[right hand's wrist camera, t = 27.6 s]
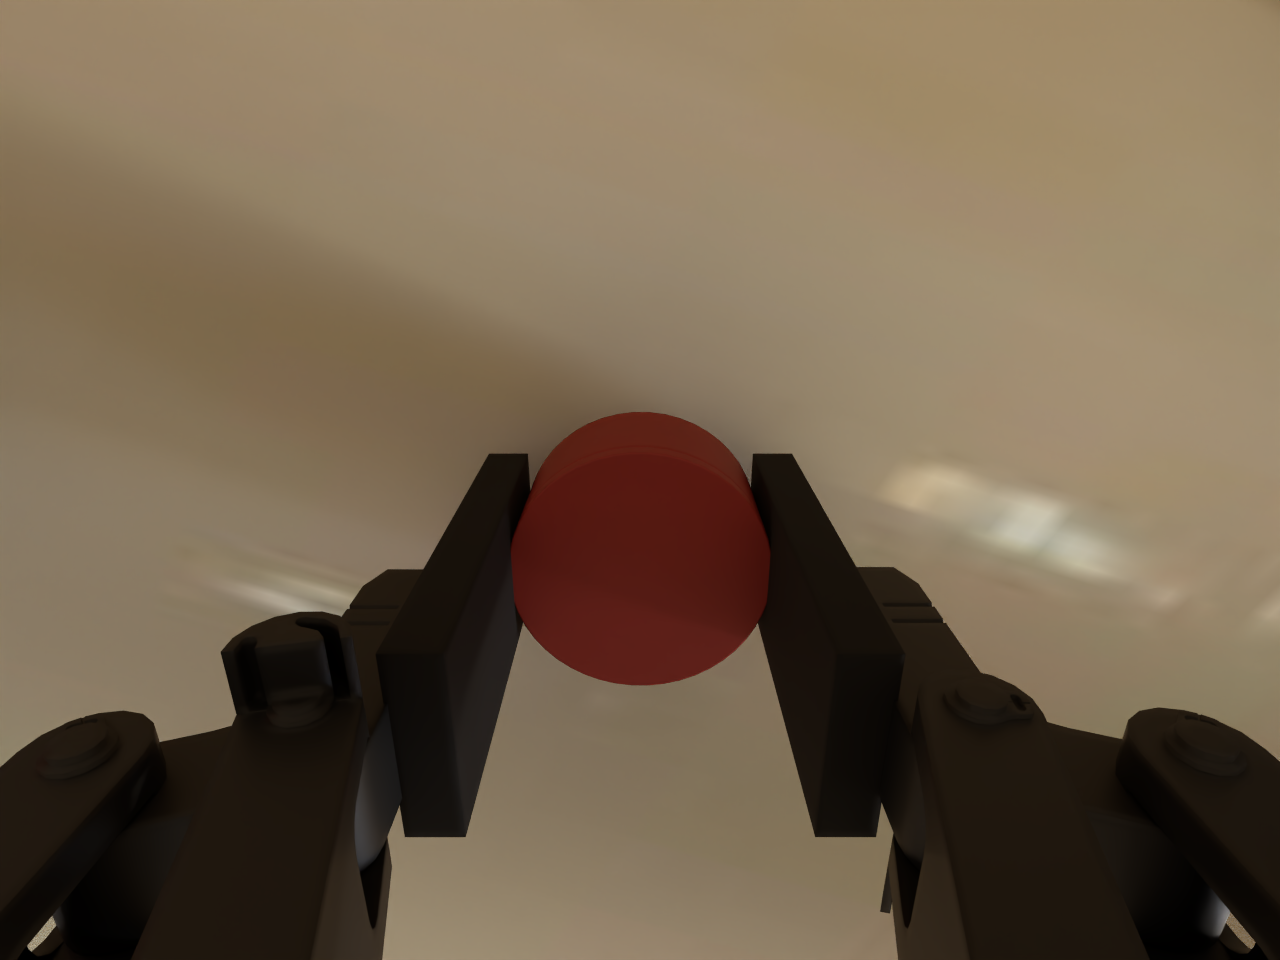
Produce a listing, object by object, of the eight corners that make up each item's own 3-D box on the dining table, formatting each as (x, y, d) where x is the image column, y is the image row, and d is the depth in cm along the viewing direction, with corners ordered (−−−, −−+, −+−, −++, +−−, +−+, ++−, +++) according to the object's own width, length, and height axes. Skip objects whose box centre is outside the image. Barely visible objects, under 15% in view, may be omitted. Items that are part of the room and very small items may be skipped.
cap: (767, 596, 15) (788, 665, 13) (558, 631, 15) (543, 703, 13) (736, 390, 13) (754, 429, 11) (502, 434, 14) (475, 480, 12)
